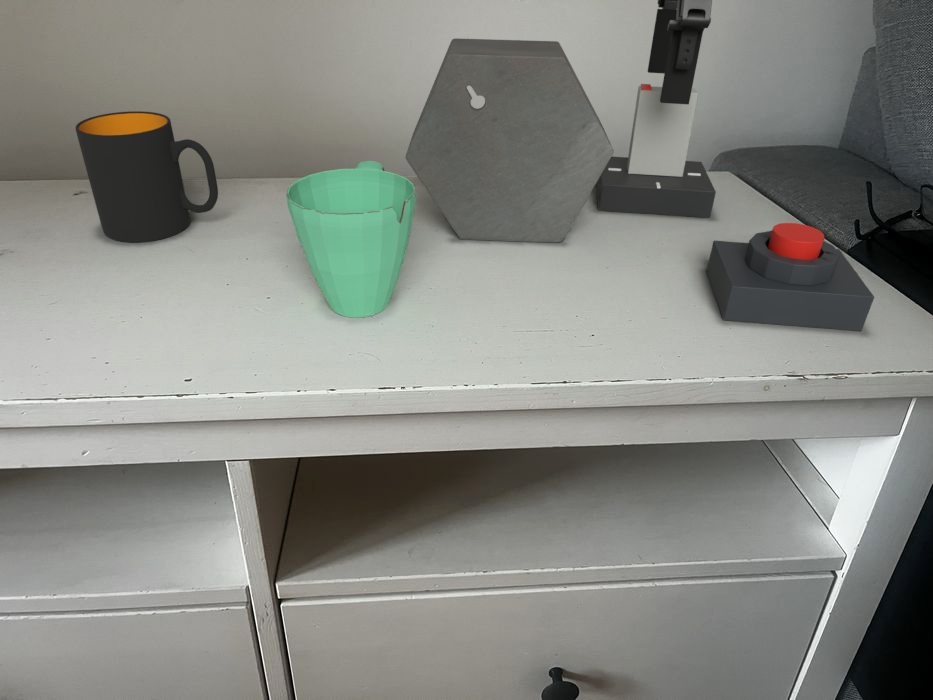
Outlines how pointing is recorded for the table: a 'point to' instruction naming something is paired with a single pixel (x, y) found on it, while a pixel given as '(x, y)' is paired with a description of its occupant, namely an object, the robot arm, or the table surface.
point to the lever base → (655, 191)
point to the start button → (796, 241)
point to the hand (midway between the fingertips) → (666, 87)
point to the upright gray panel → (660, 134)
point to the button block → (787, 286)
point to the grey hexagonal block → (509, 141)
